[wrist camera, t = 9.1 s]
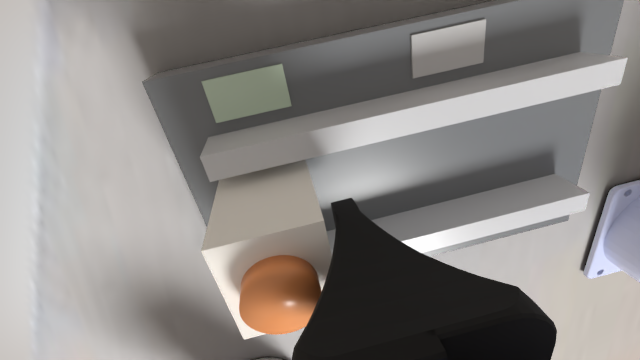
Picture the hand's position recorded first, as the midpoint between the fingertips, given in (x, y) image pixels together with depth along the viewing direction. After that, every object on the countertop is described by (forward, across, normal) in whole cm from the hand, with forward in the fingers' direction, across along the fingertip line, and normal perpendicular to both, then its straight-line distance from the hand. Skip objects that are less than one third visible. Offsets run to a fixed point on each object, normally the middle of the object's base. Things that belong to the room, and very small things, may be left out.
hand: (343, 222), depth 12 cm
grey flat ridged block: (+5, -4, 0) cm, 6 cm away
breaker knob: (+3, +3, 0) cm, 4 cm away
